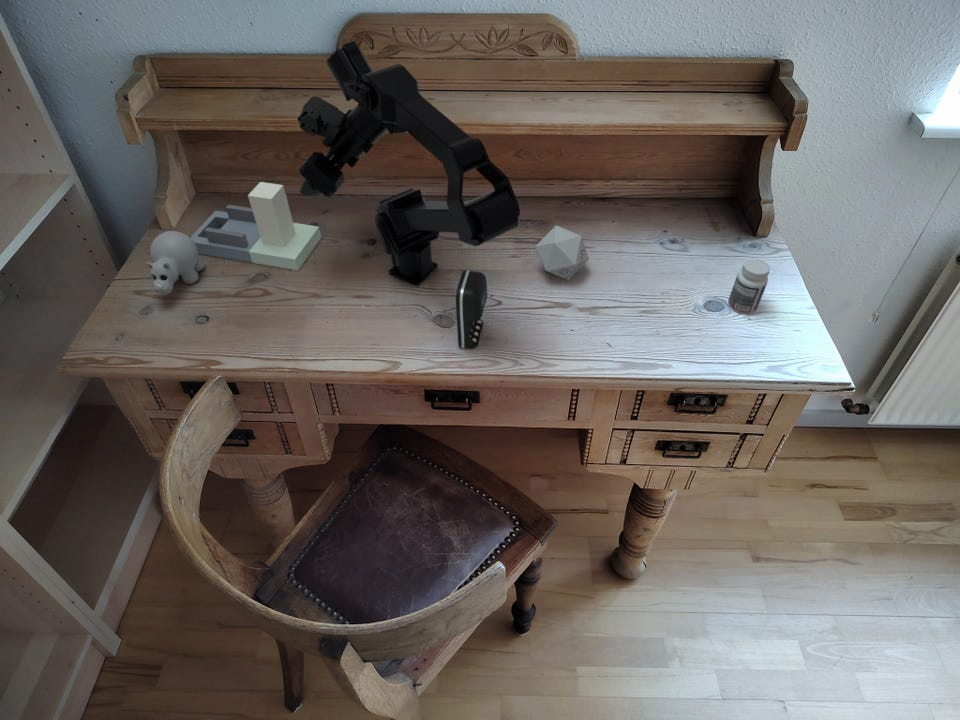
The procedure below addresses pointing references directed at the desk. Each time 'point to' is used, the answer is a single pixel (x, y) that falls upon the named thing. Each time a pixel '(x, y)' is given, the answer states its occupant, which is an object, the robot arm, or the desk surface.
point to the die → (562, 252)
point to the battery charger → (470, 307)
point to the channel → (252, 240)
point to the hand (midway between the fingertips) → (313, 178)
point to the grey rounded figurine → (173, 261)
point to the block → (272, 214)
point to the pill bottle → (749, 286)
